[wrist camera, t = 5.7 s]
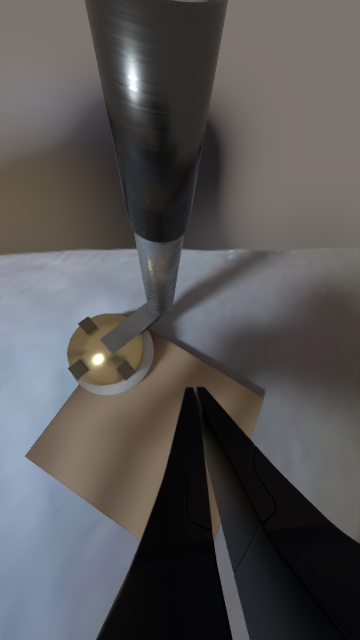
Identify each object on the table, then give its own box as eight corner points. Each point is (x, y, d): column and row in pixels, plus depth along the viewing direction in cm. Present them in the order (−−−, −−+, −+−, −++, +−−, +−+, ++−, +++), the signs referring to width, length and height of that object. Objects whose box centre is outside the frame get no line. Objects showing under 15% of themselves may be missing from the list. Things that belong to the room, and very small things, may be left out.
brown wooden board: (258, 397, 18) (270, 399, 16) (196, 569, 13) (202, 601, 11) (110, 308, 20) (105, 300, 18) (7, 433, 15) (-16, 440, 13)
